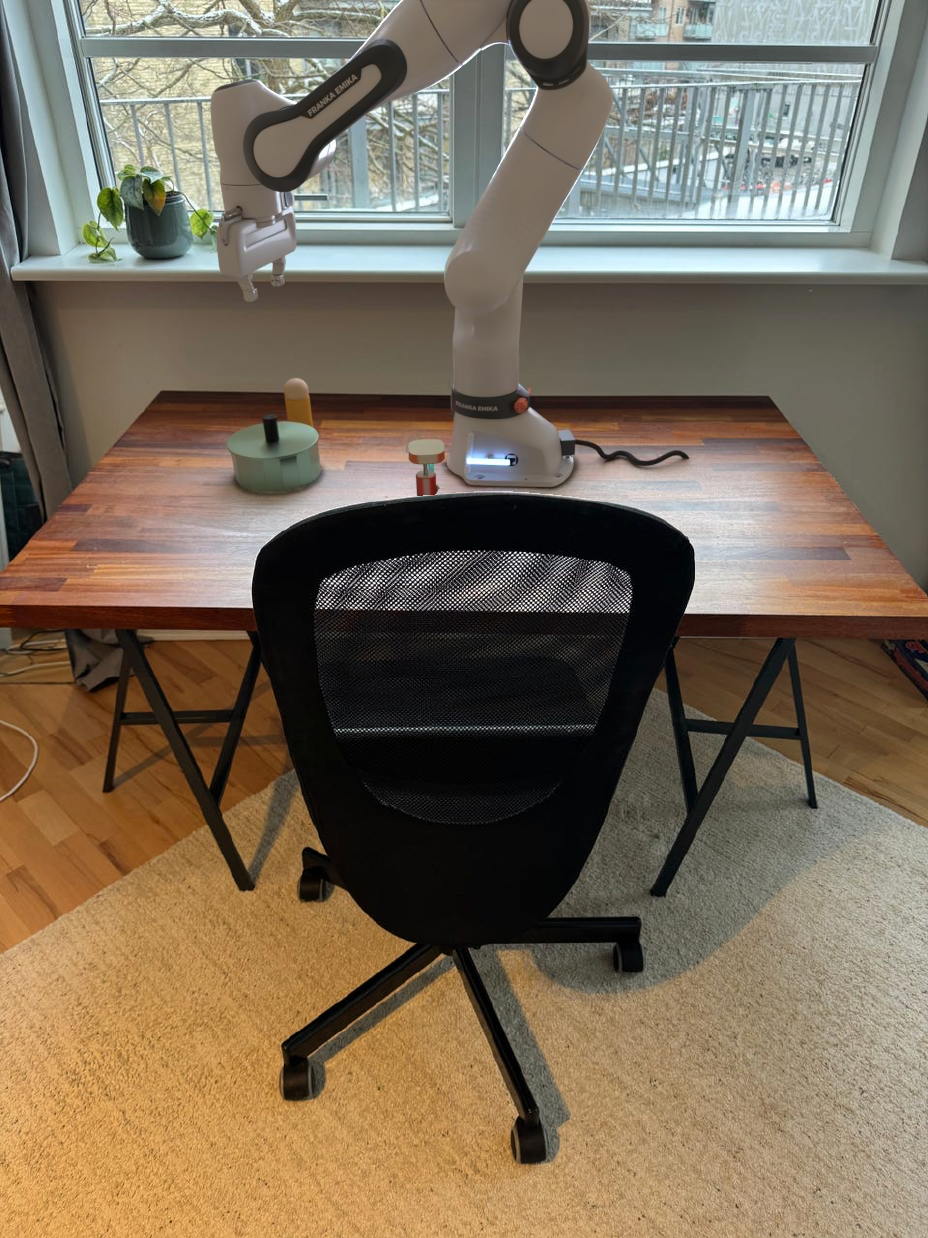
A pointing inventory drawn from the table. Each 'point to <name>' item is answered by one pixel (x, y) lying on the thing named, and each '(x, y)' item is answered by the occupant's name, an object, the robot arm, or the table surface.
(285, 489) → the pot
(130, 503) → the table surface
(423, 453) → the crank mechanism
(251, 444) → the lid
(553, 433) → the robot arm
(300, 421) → the toy
